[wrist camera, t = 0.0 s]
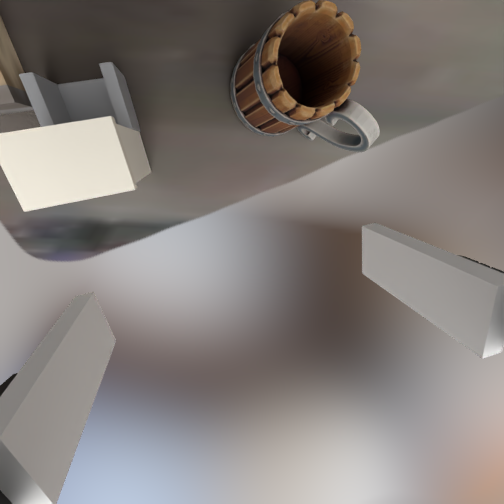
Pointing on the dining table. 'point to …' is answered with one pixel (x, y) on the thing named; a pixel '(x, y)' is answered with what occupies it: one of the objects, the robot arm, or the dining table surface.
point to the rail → (11, 78)
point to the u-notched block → (75, 142)
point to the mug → (304, 78)
